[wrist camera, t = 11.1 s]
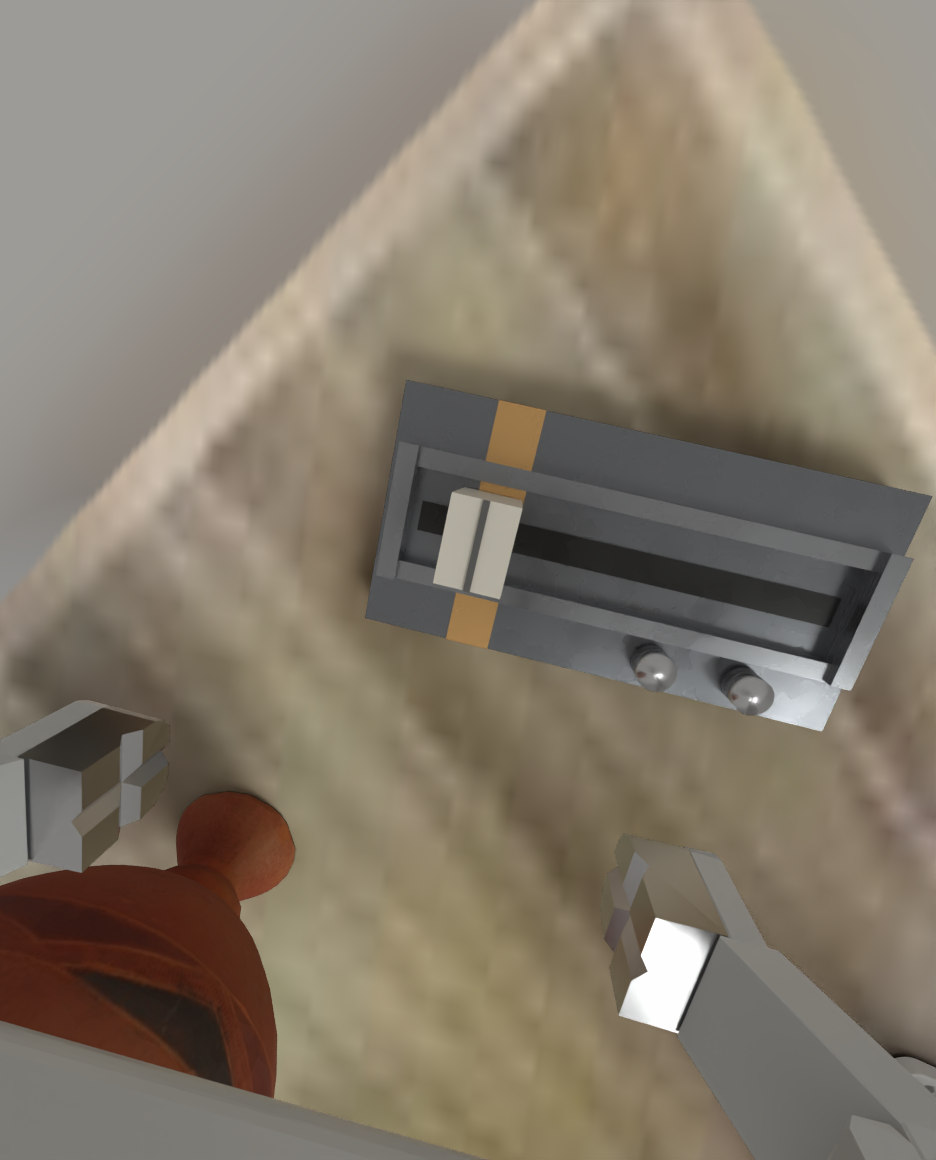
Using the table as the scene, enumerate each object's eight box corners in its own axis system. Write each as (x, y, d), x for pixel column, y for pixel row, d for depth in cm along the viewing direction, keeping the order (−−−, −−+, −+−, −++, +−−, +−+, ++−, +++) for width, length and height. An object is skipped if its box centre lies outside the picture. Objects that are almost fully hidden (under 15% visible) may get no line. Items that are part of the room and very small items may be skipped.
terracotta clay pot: (416, 889, 34) (174, 1902, 10) (223, 972, 38) (-281, 1837, 14) (262, 677, 31) (-587, 1377, 7) (71, 791, 35) (-881, 1484, 11)
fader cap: (521, 500, 24) (522, 508, 19) (503, 573, 25) (499, 599, 20) (465, 487, 24) (451, 492, 19) (449, 560, 25) (432, 583, 20)
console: (892, 493, 25) (961, 498, 21) (795, 708, 28) (840, 747, 24) (416, 387, 26) (399, 374, 22) (377, 605, 29) (356, 626, 25)
